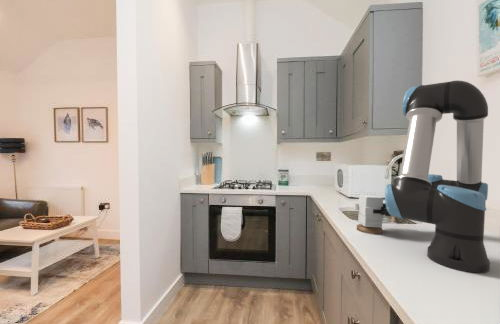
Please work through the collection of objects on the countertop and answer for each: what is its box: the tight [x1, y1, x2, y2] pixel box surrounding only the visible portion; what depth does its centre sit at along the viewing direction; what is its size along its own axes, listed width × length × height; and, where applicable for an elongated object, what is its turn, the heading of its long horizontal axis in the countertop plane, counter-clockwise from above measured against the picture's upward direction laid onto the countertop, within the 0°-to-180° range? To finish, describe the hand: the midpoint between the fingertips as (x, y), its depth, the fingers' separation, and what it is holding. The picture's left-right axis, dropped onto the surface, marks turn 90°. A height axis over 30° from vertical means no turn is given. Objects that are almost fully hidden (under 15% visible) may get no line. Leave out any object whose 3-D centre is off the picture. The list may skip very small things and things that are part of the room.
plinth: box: [356, 223, 383, 235], centre depth 110 cm, size 10×10×2 cm
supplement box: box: [357, 194, 384, 228], centre depth 110 cm, size 7×7×13 cm
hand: (359, 208), depth 109 cm, fingers closed on supplement box, 8 cm apart
